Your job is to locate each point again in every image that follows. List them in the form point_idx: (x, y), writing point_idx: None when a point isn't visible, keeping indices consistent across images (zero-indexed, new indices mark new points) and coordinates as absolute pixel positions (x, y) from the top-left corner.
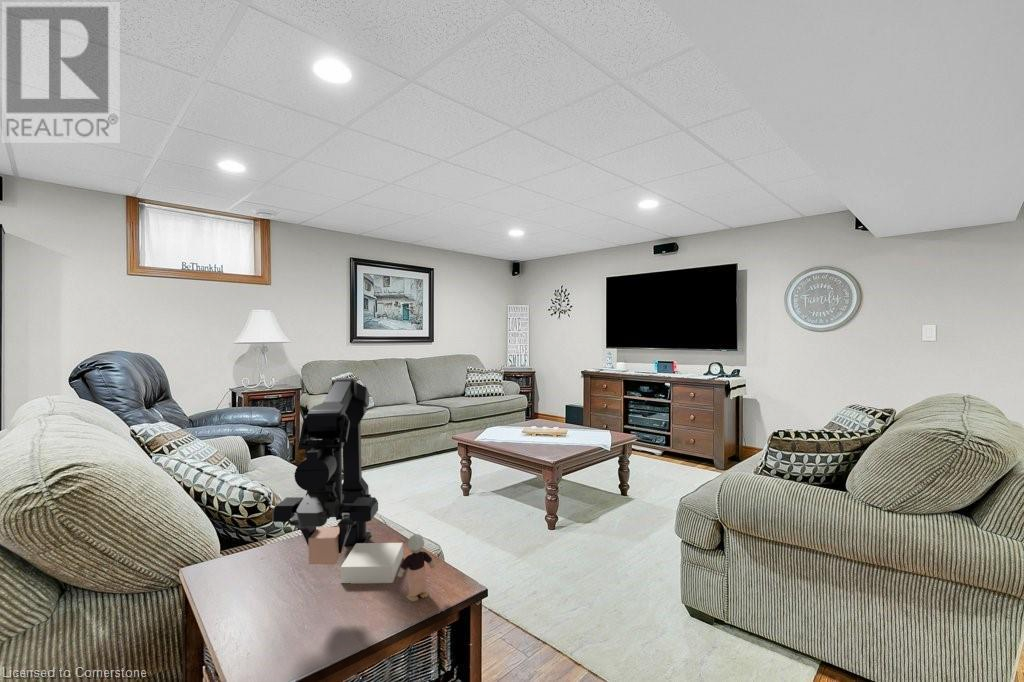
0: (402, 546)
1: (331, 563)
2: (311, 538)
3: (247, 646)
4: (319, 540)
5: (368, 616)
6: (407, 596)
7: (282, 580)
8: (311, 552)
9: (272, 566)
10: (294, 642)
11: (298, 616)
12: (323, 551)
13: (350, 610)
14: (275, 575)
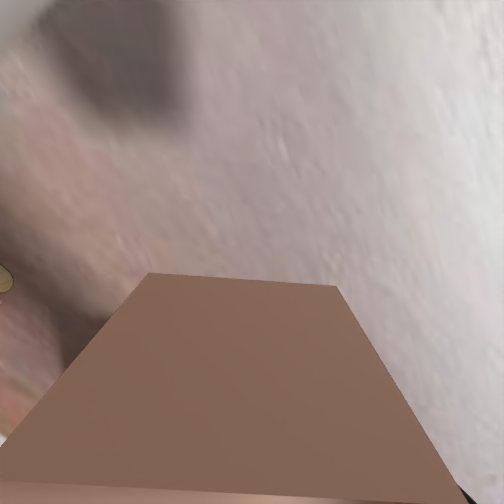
0: None
1: (173, 276)
2: (416, 501)
3: (451, 47)
4: (268, 455)
5: (96, 187)
6: (5, 276)
7: (416, 384)
8: (341, 337)
9: (458, 445)
10: (296, 57)
11: (323, 206)
12: (221, 335)
13: (167, 225)
14: (441, 407)
